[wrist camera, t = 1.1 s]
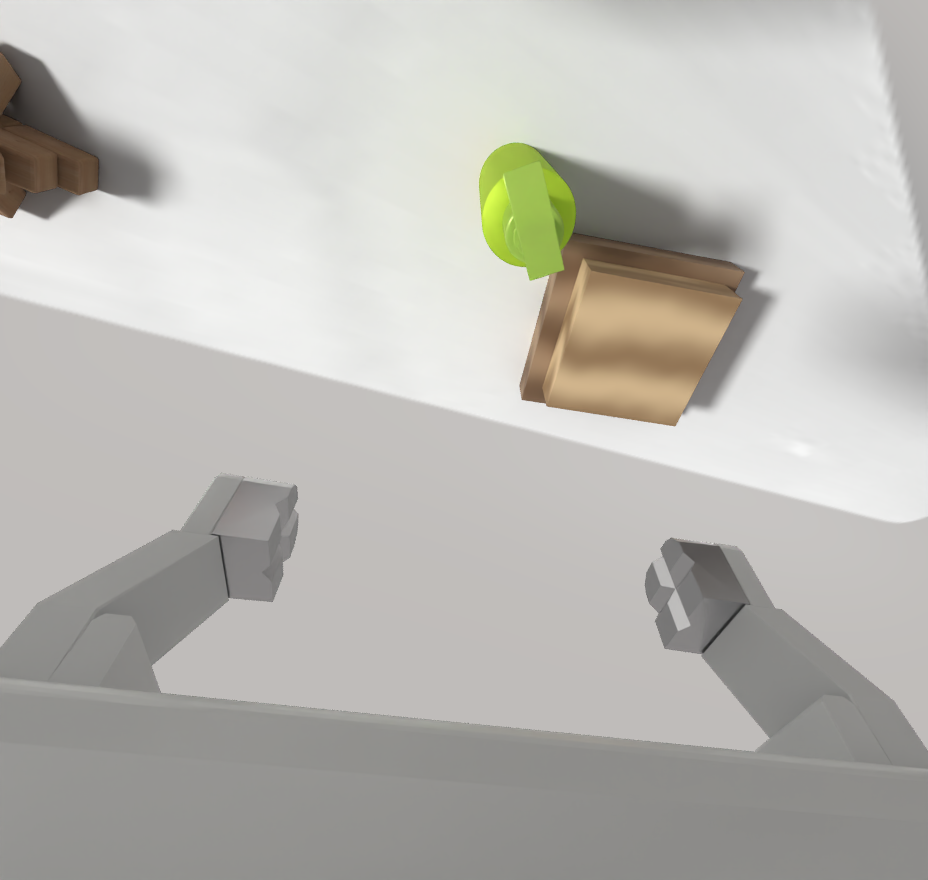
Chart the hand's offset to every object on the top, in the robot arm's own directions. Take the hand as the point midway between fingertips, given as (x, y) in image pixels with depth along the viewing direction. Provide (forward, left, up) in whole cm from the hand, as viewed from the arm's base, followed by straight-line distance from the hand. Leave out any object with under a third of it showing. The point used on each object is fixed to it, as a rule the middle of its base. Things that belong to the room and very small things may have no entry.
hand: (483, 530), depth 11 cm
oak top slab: (+9, +16, -36) cm, 40 cm away
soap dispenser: (-2, +3, -39) cm, 39 cm away
